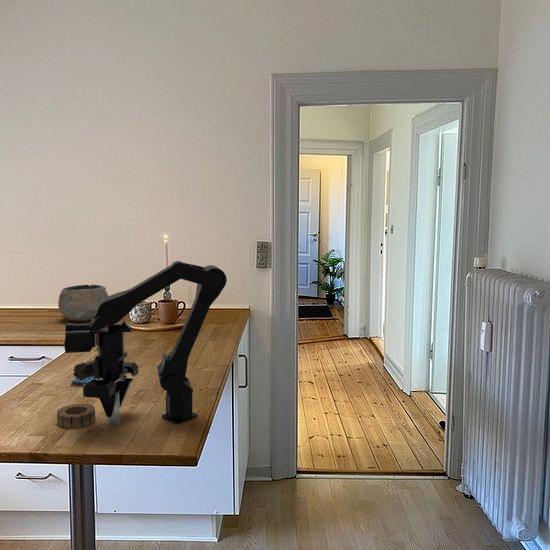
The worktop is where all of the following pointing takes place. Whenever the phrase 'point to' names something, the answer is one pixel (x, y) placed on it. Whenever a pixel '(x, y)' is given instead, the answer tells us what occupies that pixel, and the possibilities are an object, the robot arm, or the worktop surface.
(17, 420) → the worktop surface
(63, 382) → the worktop surface
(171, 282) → the robot arm
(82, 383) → the woven mat
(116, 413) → the grey cylinder
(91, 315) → the clay pot
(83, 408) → the walnut gear
